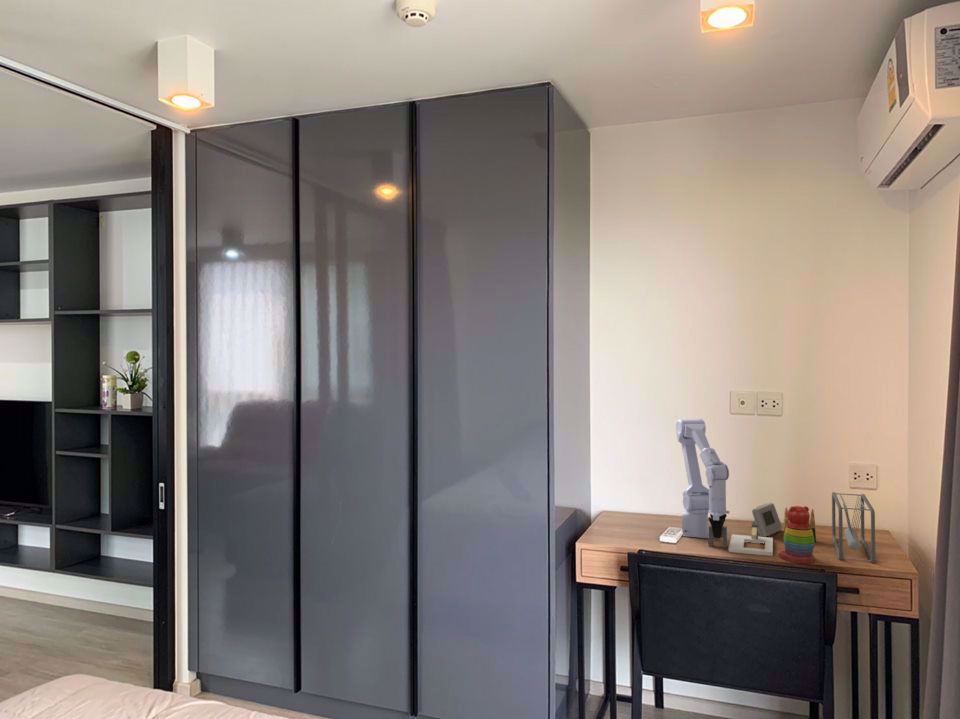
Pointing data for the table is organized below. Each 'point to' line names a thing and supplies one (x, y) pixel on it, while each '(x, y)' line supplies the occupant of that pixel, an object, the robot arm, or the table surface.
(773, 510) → the digital clock
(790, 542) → the stacking bear
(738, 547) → the white slotted board
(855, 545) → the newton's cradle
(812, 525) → the ammunition clip
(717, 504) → the robot arm
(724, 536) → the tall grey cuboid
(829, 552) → the table surface
